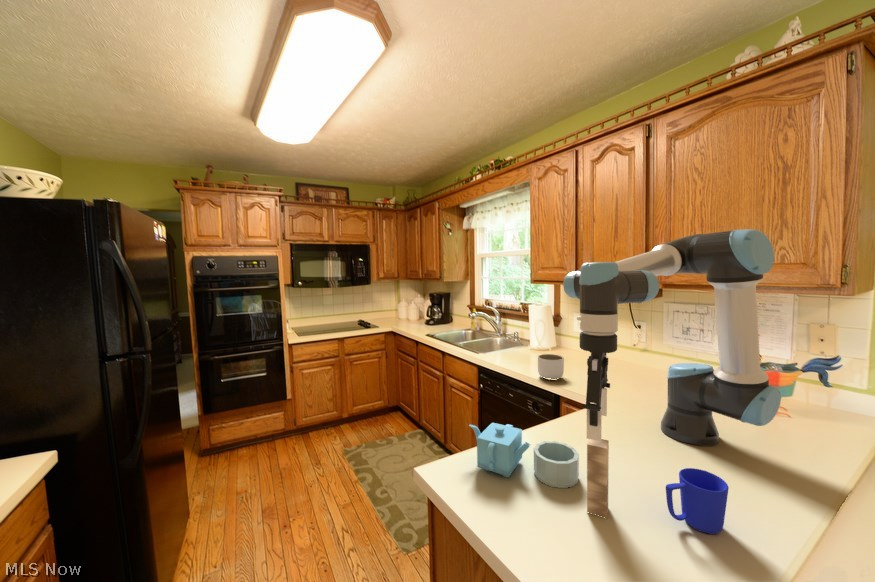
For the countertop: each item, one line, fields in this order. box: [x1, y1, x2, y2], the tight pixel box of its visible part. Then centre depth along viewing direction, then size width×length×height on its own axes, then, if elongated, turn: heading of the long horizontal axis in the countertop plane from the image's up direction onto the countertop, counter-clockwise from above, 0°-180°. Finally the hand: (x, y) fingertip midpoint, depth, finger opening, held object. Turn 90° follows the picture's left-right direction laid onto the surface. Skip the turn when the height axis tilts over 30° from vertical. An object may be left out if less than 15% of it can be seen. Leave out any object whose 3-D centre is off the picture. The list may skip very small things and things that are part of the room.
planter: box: [537, 353, 565, 379], centre depth 168 cm, size 12×12×11 cm
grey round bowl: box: [533, 440, 580, 489], centre depth 89 cm, size 11×11×6 cm
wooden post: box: [586, 438, 610, 519], centre depth 76 cm, size 4×4×16 cm
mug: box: [665, 467, 730, 535], centre depth 71 cm, size 8×12×10 cm
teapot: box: [468, 422, 531, 478], centre depth 94 cm, size 16×18×11 cm
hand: (597, 426), depth 75 cm, fingers open, 13 cm apart
